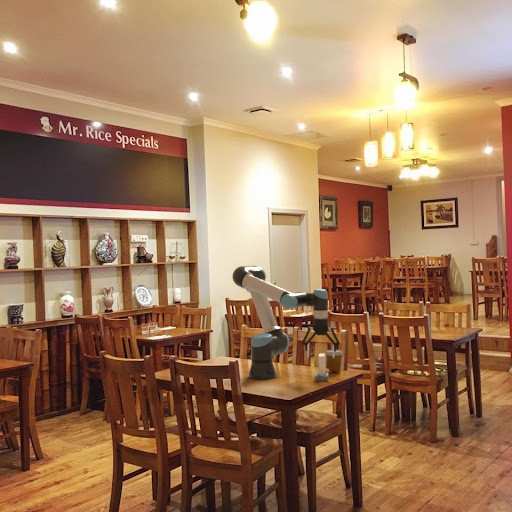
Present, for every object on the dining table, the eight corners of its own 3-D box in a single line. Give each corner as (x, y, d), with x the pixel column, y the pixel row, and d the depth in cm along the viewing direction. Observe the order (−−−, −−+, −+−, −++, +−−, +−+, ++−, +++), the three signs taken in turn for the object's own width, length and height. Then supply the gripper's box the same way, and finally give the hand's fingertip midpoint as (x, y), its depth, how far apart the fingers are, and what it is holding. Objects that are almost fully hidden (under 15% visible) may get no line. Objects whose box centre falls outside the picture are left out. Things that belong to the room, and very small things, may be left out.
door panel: (319, 375, 300) (318, 353, 301) (325, 375, 300) (325, 353, 300) (318, 378, 292) (318, 356, 292) (324, 379, 291) (324, 356, 291)
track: (314, 381, 289) (314, 376, 289) (316, 375, 303) (316, 370, 303) (328, 381, 288) (328, 376, 288) (329, 375, 302) (329, 370, 302)
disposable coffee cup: (342, 370, 317) (342, 349, 317) (343, 373, 307) (342, 352, 307) (325, 370, 318) (325, 349, 318) (326, 373, 308) (325, 352, 308)
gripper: (296, 318, 295) (297, 357, 295) (343, 319, 290) (344, 359, 290) (298, 316, 302) (298, 355, 302) (344, 317, 298) (344, 356, 298)
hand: (320, 357), depth 296 cm, fingers open, 13 cm apart
